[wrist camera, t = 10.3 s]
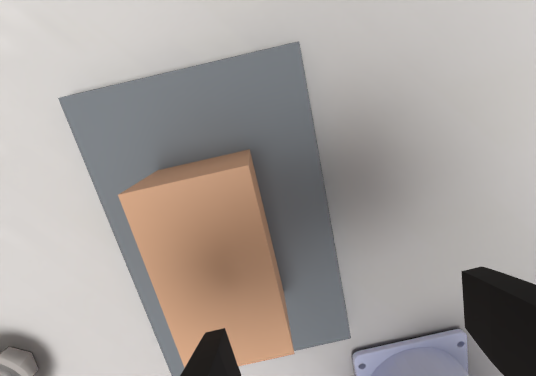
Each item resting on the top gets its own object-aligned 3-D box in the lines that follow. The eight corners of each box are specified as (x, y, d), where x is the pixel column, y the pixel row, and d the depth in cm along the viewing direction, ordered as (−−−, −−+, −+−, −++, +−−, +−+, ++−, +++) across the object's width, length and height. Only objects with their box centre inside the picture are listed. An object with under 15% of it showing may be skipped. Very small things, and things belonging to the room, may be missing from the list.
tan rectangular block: (249, 149, 15) (248, 165, 10) (283, 292, 17) (294, 353, 13) (157, 170, 15) (117, 194, 10) (204, 310, 17) (188, 377, 13)
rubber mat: (346, 326, 19) (351, 338, 18) (176, 364, 19) (172, 377, 18) (295, 46, 14) (298, 41, 14) (71, 98, 15) (58, 98, 14)
